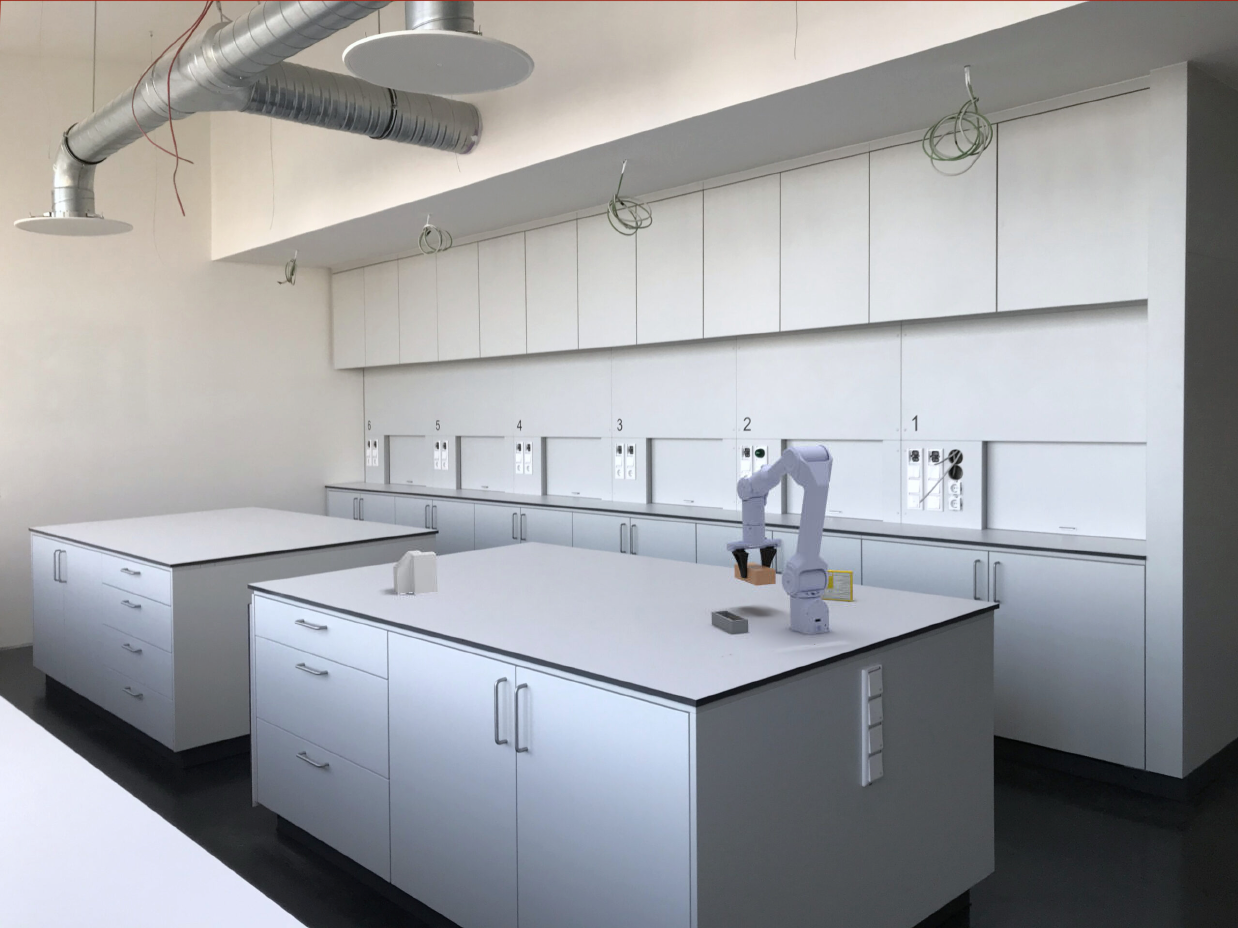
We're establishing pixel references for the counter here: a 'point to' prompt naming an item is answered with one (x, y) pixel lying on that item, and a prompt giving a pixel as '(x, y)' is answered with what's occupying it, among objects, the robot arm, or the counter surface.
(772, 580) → the tan rectangular plank
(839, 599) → the candy box
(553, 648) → the counter surface
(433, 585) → the corner bracket
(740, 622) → the storage box
